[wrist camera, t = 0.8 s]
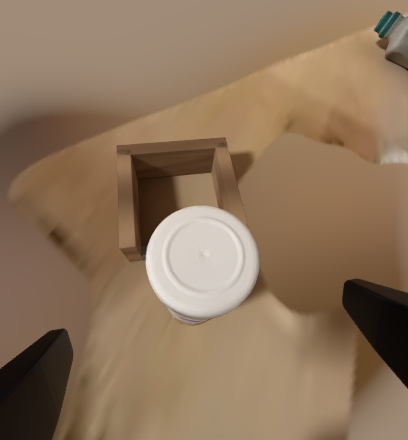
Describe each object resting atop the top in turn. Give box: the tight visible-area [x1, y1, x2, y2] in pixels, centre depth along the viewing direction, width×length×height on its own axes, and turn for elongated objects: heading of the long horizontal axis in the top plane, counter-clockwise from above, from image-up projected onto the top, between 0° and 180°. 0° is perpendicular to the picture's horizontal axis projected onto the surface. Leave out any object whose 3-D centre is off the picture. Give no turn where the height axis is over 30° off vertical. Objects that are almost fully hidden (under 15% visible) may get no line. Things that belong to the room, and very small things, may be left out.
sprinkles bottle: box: [146, 206, 260, 326], centre depth 16 cm, size 5×5×13 cm
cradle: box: [117, 138, 248, 262], centre depth 23 cm, size 10×10×4 cm
